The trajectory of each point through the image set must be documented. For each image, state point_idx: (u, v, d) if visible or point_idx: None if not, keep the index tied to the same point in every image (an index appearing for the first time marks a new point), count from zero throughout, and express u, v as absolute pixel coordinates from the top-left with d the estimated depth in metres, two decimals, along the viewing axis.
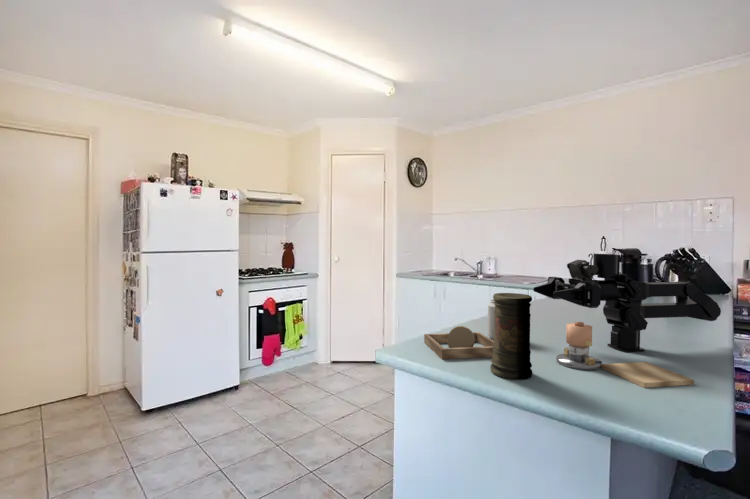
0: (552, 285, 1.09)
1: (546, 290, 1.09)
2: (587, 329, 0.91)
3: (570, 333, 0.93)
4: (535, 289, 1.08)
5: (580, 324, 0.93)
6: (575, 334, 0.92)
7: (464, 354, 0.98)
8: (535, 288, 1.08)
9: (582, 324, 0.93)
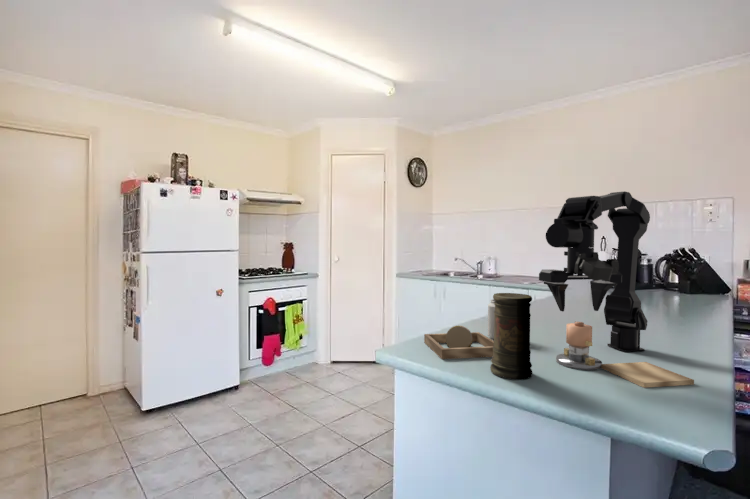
0: None
1: None
2: (587, 329, 0.91)
3: (570, 333, 0.93)
4: None
5: (580, 324, 0.93)
6: (575, 334, 0.92)
7: (464, 354, 0.98)
8: None
9: (582, 324, 0.93)
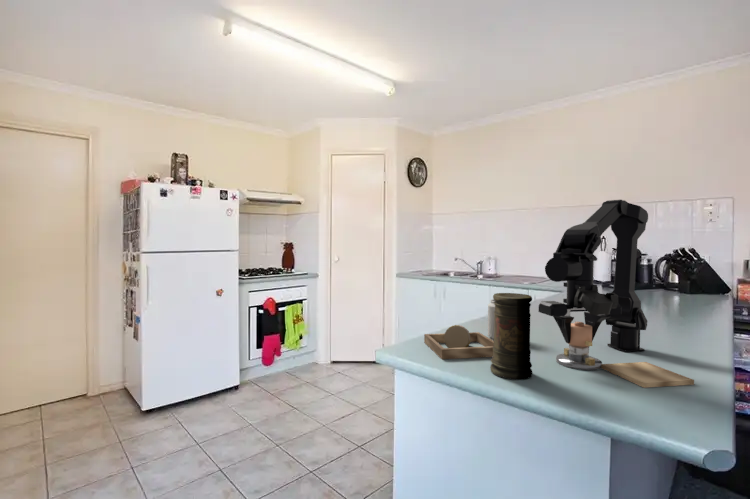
0: None
1: None
2: (587, 329, 0.91)
3: None
4: None
5: (580, 324, 0.93)
6: (575, 334, 0.92)
7: (464, 354, 0.98)
8: None
9: (582, 324, 0.93)
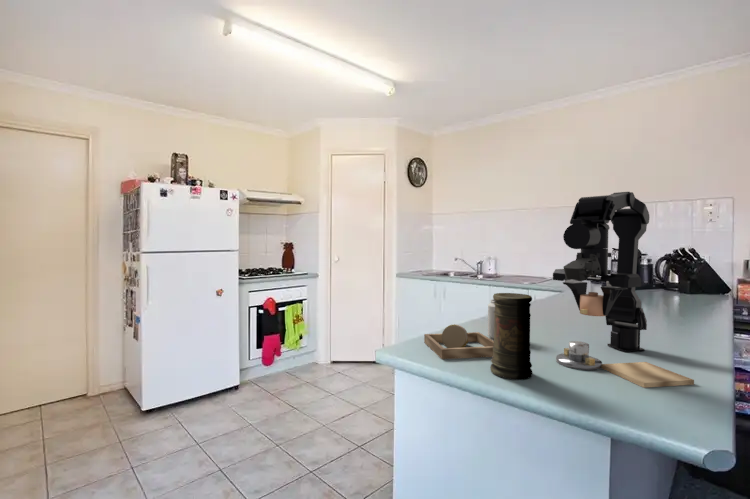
0: (577, 286, 0.95)
1: None
2: (586, 297, 0.91)
3: None
4: None
5: (589, 293, 0.92)
6: (580, 302, 0.93)
7: (464, 354, 0.98)
8: None
9: (591, 294, 0.92)
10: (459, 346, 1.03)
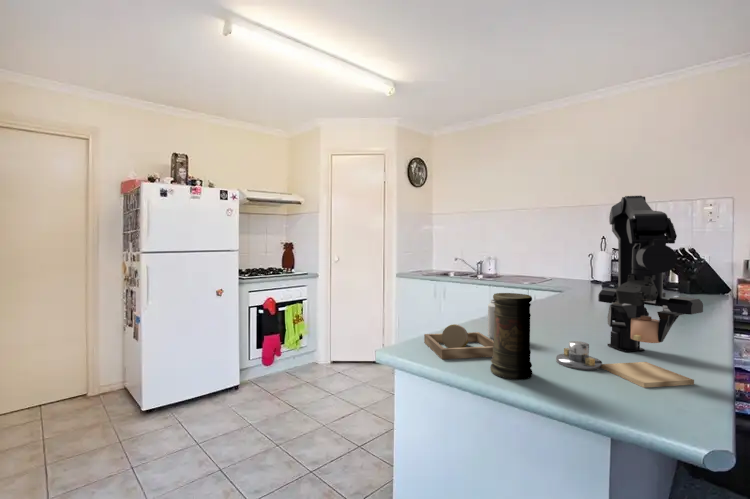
0: (627, 310, 0.88)
1: None
2: (639, 322, 0.84)
3: None
4: None
5: (642, 318, 0.85)
6: (631, 326, 0.87)
7: (464, 354, 0.98)
8: None
9: (644, 318, 0.85)
10: (459, 346, 1.03)
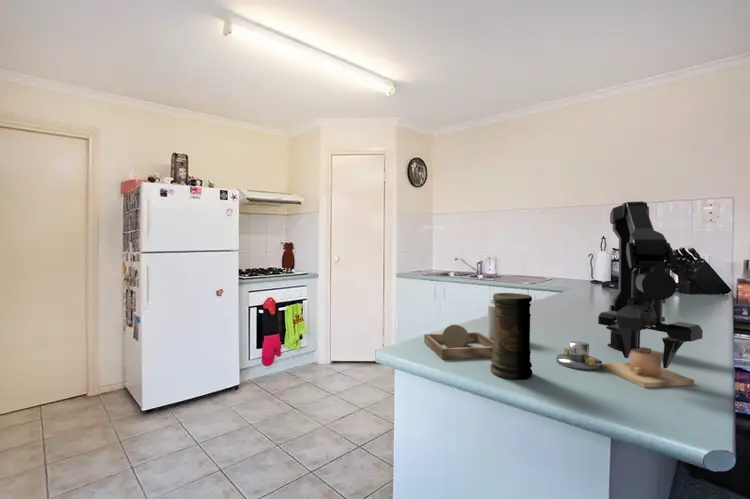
0: (622, 332, 0.89)
1: (627, 340, 0.90)
2: (639, 355, 0.84)
3: None
4: (627, 356, 0.89)
5: (641, 350, 0.86)
6: (630, 358, 0.87)
7: (464, 354, 0.98)
8: (626, 356, 0.89)
9: (644, 350, 0.85)
10: (460, 346, 1.03)
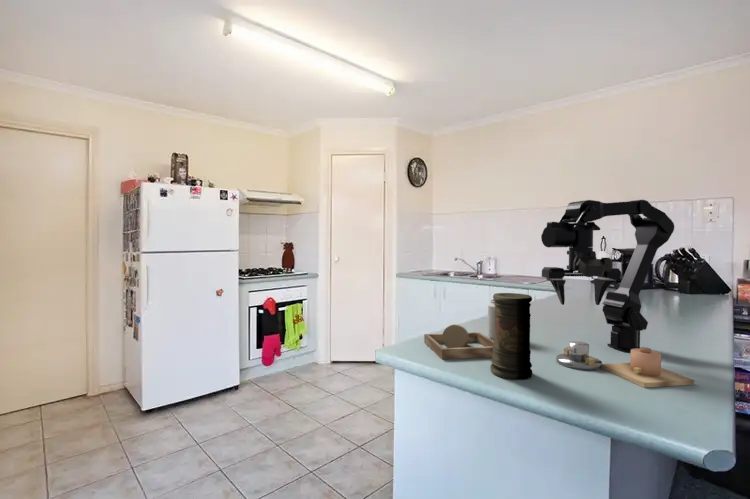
0: None
1: None
2: (639, 355, 0.84)
3: None
4: None
5: (642, 350, 0.85)
6: (631, 358, 0.87)
7: (464, 354, 0.98)
8: None
9: (644, 350, 0.85)
10: (460, 346, 1.03)
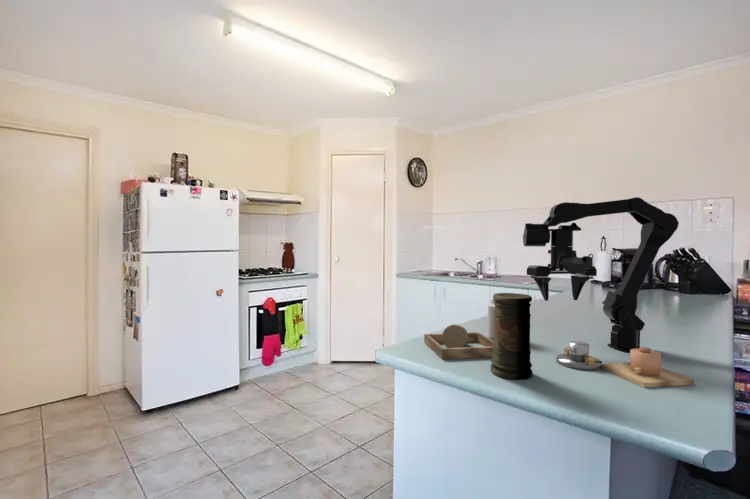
0: None
1: None
2: (639, 355, 0.84)
3: None
4: None
5: (641, 350, 0.85)
6: (630, 358, 0.87)
7: (464, 354, 0.98)
8: None
9: (644, 350, 0.85)
10: (460, 346, 1.03)
